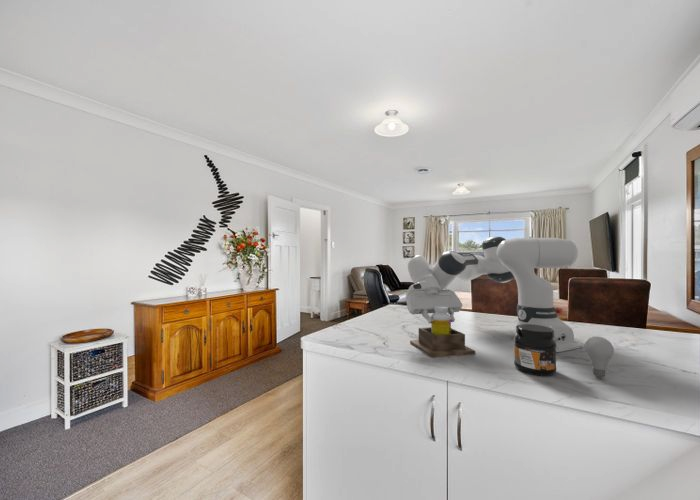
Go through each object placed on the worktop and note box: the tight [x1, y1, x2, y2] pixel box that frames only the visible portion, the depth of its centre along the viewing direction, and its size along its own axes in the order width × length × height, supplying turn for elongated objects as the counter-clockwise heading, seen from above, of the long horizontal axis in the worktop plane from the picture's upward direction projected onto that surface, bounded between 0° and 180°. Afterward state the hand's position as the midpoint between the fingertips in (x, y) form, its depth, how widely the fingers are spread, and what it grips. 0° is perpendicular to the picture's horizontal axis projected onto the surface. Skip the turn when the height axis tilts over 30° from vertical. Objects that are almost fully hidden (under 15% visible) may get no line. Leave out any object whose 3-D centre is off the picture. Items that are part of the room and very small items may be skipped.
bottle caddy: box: [409, 326, 476, 359], centre depth 109 cm, size 16×16×6 cm
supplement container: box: [513, 324, 557, 377], centre depth 89 cm, size 10×10×12 cm
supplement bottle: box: [430, 306, 452, 335], centre depth 109 cm, size 7×7×13 cm
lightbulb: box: [584, 336, 615, 379], centre depth 83 cm, size 6×6×11 cm
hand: (442, 322), depth 108 cm, fingers closed on supplement bottle, 7 cm apart
